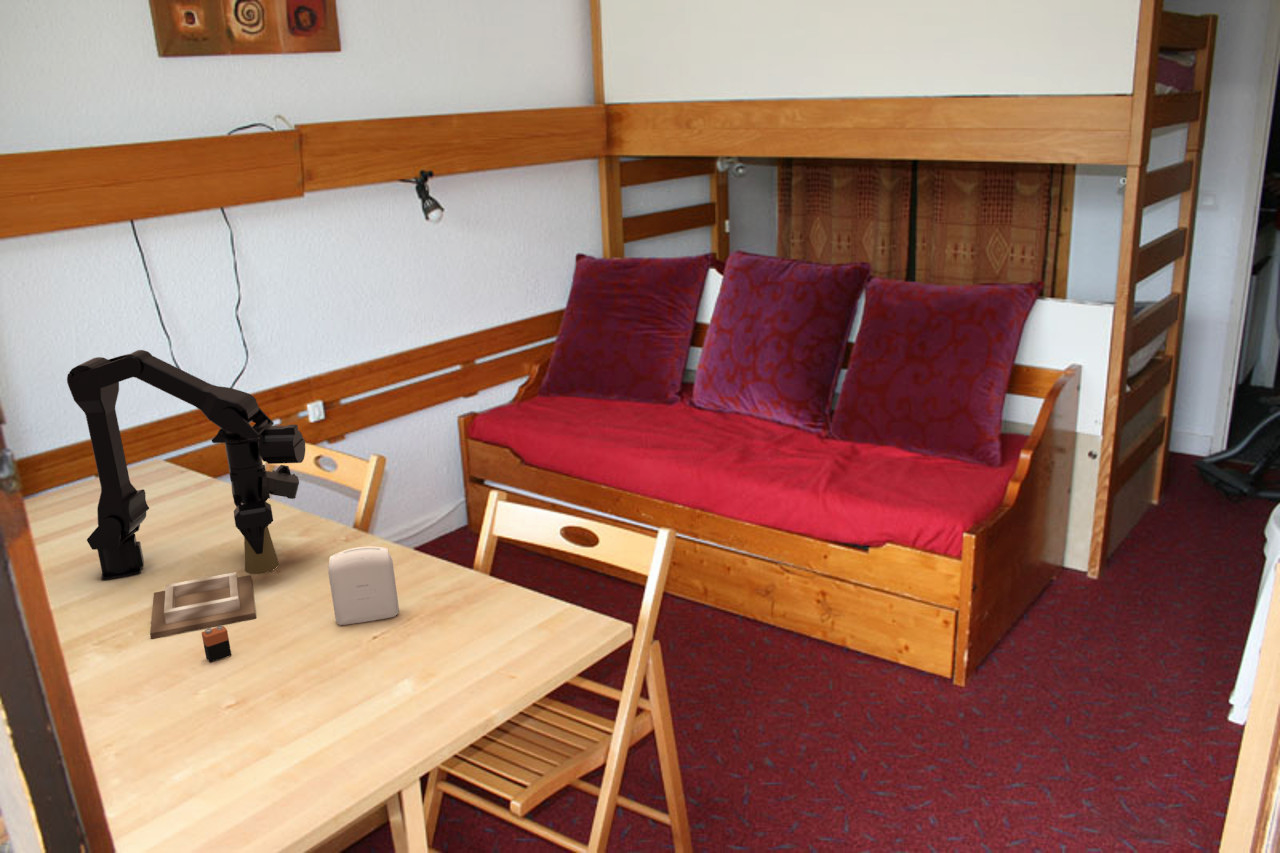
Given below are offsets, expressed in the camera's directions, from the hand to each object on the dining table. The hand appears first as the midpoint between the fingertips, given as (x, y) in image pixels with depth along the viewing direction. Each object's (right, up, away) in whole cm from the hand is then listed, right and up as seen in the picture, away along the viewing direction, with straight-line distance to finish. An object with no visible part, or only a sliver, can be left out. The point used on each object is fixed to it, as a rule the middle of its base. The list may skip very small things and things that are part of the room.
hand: (258, 544), depth 192 cm
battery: (+5, -14, -30) cm, 33 cm away
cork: (0, -4, +1) cm, 5 cm away
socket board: (-4, -9, -14) cm, 17 cm away
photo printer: (+25, -10, -19) cm, 33 cm away
